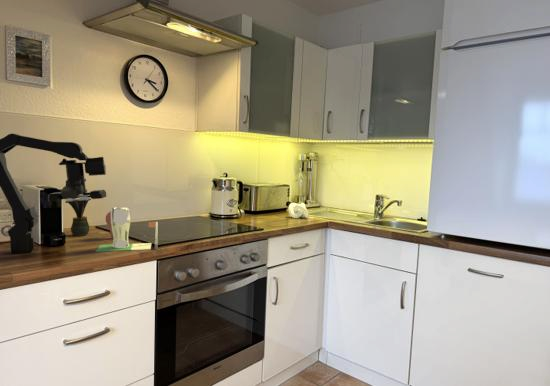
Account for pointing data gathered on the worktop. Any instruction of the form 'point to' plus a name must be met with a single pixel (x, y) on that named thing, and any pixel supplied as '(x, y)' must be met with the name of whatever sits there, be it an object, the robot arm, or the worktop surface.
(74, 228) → the mate gourd
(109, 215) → the light bulb
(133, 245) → the putting mat
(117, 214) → the beer glass
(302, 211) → the white lumpy piece
